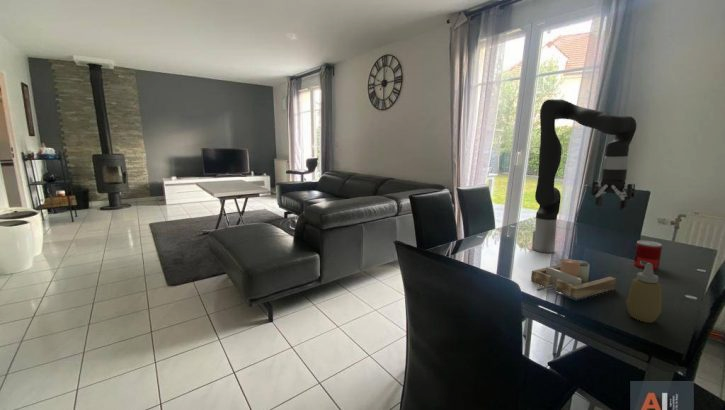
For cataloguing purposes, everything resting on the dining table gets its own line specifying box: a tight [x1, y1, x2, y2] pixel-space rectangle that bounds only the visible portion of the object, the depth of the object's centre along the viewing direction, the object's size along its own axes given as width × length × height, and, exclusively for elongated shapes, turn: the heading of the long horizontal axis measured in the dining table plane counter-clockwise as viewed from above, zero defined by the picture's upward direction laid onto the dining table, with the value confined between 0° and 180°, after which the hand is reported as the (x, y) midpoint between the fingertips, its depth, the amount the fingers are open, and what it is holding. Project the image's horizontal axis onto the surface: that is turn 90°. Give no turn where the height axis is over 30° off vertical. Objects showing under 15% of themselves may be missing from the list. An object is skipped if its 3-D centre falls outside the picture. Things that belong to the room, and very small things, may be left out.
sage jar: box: [575, 259, 591, 284], centre depth 117 cm, size 6×6×9 cm
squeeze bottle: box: [625, 263, 663, 323], centre depth 92 cm, size 8×8×18 cm
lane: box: [530, 263, 617, 299], centre depth 116 cm, size 18×21×5 cm
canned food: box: [633, 239, 663, 271], centre depth 130 cm, size 8×8×11 cm
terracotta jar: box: [560, 258, 580, 278], centre depth 115 cm, size 6×6×10 cm
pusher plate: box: [536, 266, 582, 292], centre depth 112 cm, size 13×13×6 cm
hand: (610, 207), depth 122 cm, fingers open, 8 cm apart
